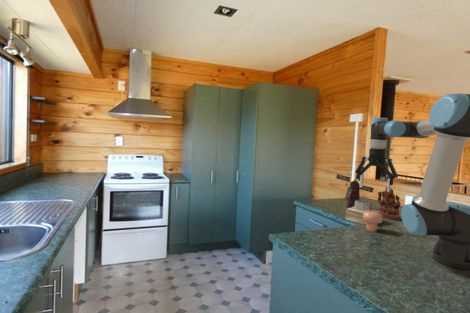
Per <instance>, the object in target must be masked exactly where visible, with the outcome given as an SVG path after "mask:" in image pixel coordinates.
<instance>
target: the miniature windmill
mask: <svg viewBox="0 0 470 313" xmlns="http://www.w3.org/2000/svg"><path fill="white" fill-rule="evenodd" d="M364 167H365V166H363V167H362V169H363V168H364ZM362 169H361V170H362ZM361 170H360V171H361ZM358 178H359V175H358V174H357V173H356V176H355V180H352V181H351V177H350V176H348V175H347V176H346V175H342V174H339V173H337V174H336V177H335V179H337V180H341V181H345V182H349V183H350V184H349V186H348V188H347V191H346V193H345V194H346V195H345V197H344V200H346V201H347V203H346V209H348V208H351V207H354V206H355V200H361V198H360V197H361V196H360V195H361V194H360V191H361V190H362V191H364V192H368V193H372V194H373V192H374V189H375V188H374V187H371V186H368V185H364V184H363V187H360V182H359V180H358ZM357 180H358V181H357Z"/></svg>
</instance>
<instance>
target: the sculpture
mask: <svg viewBox="0 0 470 313" xmlns="http://www.w3.org/2000/svg"><path fill="white" fill-rule="evenodd" d="M377 196H378V197H377V202H378V203H379V205H380V207H379V210H378V211H380V213H382V214H383V215H382V218H385V219H390V220H393V221H397V222H398V221H400V220H401V217H400V210H399V209H400V207H401V205H402V204H401V202H400V199H401V198H400V196H399V195H398V194H396V195H395V194H394V189H393V188H391V190H390V191H389V192H387V186H385V190H383V191H378V192H377Z"/></svg>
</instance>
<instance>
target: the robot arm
mask: <svg viewBox="0 0 470 313" xmlns="http://www.w3.org/2000/svg"><path fill="white" fill-rule="evenodd" d="M434 135H435V136H436V137H435V140H434V144H433V147H432V151H431V153H430V157H429V160H428V164H427V167H426V170H425V173H424V176H423V179H422V183H421V186H420V190H419V191H418V192H419V193H418V194H416V195H414V196H413V197H412V200H411V203H407V204H405V205H403V206H402V208H401V212H400V215H401V217H400V218H401V221H402V223H403V226H404V228H405V229H406V230H407V231H408V233H410V234H412V235H414V236H421V237H424V236H433V237H434V236H436V237H438V238H437V241H436V242H435V243H434V246H433V247H432V250H431V258H432V259H433V260H434V261H436V262H438V263H441V264H443V265H445V266H449V267H452V268H456V269H461V270H467V271H470V205H468V204H467V205H466V204H464V203H458V202H455V201H454V202H453V201H449V200H447V199H448V196H449V193H450V190H451V187H452V185H453V181H454V178H455V176H456V173H457V170H458V167H459V164H460V161H461V158H462V156H463V152H464V150H465V147H466V143H467V142H468V141H469V140H470V94H469V93H459V92H458V93H449V94H448V93H447V94H445V95H443V96H441V97H440V98H438V99H436V101H435V102H434V104H433V105H432V107H431V108H430V111H429V118H428V119H427V118H426V119H424V120H419V121H401V120H393V119H392V120H390V121H389V119H388V118H387V117H373V118H372V119H371V125H370V140H369V147H370V148H369V152H368V157H367V156H362V159H361V161H360V163H359V165H358V166H357V168H356V169H355V171H354V172H355V174H356V175H357V174H358V175H359V178H358V179H357V180H358V182H359V184H360V187H363V185H364V178H365V177H364V176H365V175H364V173H365V172H367V170H368V169H369V168H370V167H380V168H382V170H383V171H384V172H385V174H386V175H387V176H388V178H387V185H386V187H387V192H389V191H390V190H391V189H392V186H393V185H394V179H397V178H399V175H398V172H397V171H396V168H395V166H394V163H393V159H392V158H386V152H387V150H386V148H387V138H409V139H410V138H411V139H428V138H429V137H430V136H434ZM367 161H368V163H367V164H366V162H367ZM385 163H387V165H388V166H389V168H388V167H387V166H386V164H385ZM365 164H366V165H365ZM364 165H365V166H364ZM362 167H364V168H363V169H362ZM361 169H362V170H361ZM389 169H390V170H389ZM360 170H361V171H360Z"/></svg>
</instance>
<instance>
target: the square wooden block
mask: <svg viewBox="0 0 470 313" xmlns="http://www.w3.org/2000/svg"><path fill="white" fill-rule="evenodd" d="M354 208H355V206H354V207H351V208H346V209H345V214H344V215H345V217H344V220H346V221H350V222H356V223H358V224H359V223H360V224H362V225H363V224H364V225H367V222H366V221H364V220H363V212H362V211H357V210H355V209H354ZM371 211H374V212H379V213H380V211H379V210H378V209H373V208H372V210H371Z"/></svg>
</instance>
